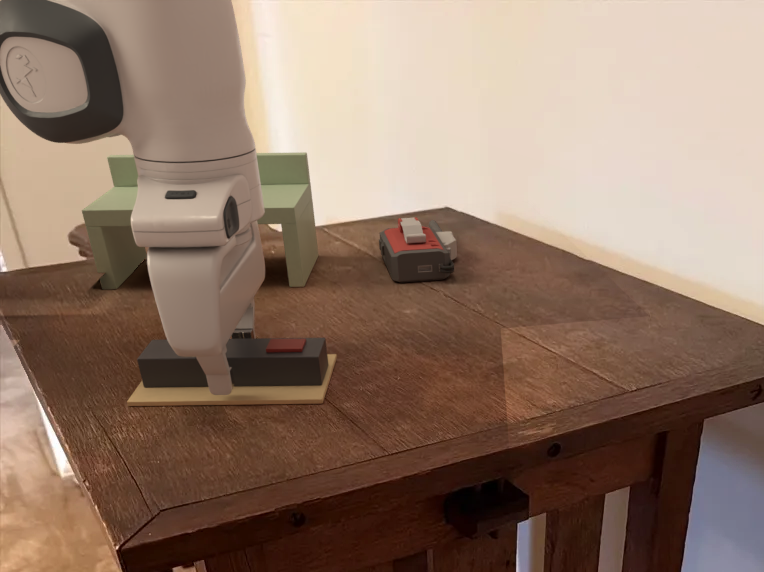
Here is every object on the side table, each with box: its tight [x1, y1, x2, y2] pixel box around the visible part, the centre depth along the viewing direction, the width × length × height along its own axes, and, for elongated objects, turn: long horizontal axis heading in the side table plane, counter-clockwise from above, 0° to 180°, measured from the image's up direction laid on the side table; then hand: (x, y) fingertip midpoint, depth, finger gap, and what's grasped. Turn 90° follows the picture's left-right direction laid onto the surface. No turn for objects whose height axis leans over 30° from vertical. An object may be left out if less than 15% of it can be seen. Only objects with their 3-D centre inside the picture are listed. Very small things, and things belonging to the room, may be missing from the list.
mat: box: [126, 353, 338, 407], centre depth 79 cm, size 16×10×1 cm, turn 90°
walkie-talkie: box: [378, 216, 458, 284], centre depth 106 cm, size 9×4×20 cm
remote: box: [136, 337, 329, 388], centre depth 78 cm, size 15×4×3 cm, turn 90°
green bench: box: [81, 151, 319, 290], centre depth 100 cm, size 22×12×11 cm, turn 90°
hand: (235, 369), depth 78 cm, fingers open, 8 cm apart
